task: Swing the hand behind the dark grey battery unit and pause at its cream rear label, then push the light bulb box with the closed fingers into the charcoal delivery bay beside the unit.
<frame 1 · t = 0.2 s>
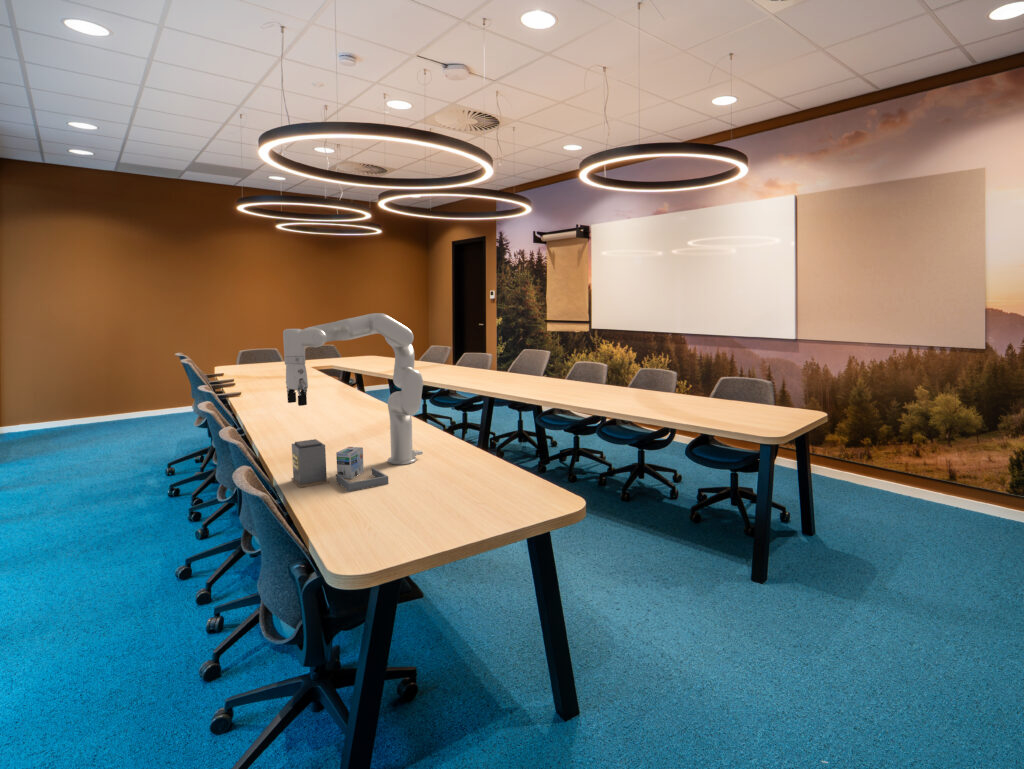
hand: (297, 403, 212), 31 cm above the table, tool pointing down, fingers open, 9 cm apart
bay: (361, 482, 212), on the table
battery unit: (310, 481, 213), on the table
light bulb box: (350, 475, 221), on the table
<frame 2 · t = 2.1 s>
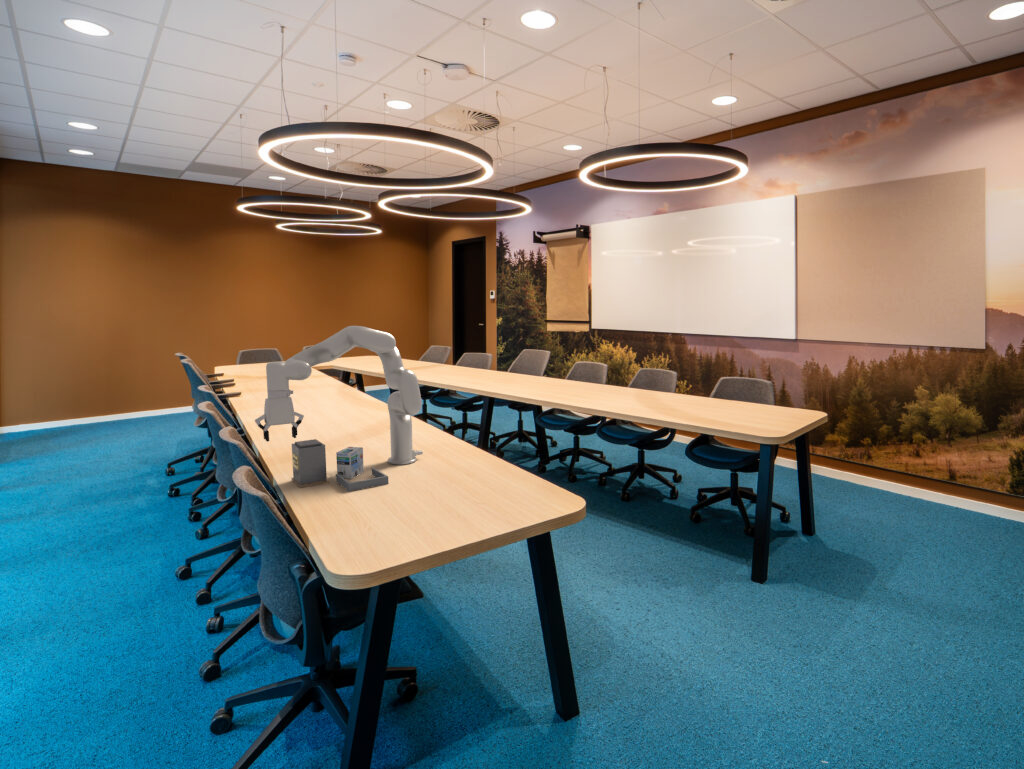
hand: (280, 439, 204), 19 cm above the table, tool pointing down, fingers open, 9 cm apart
nothing on the table moved.
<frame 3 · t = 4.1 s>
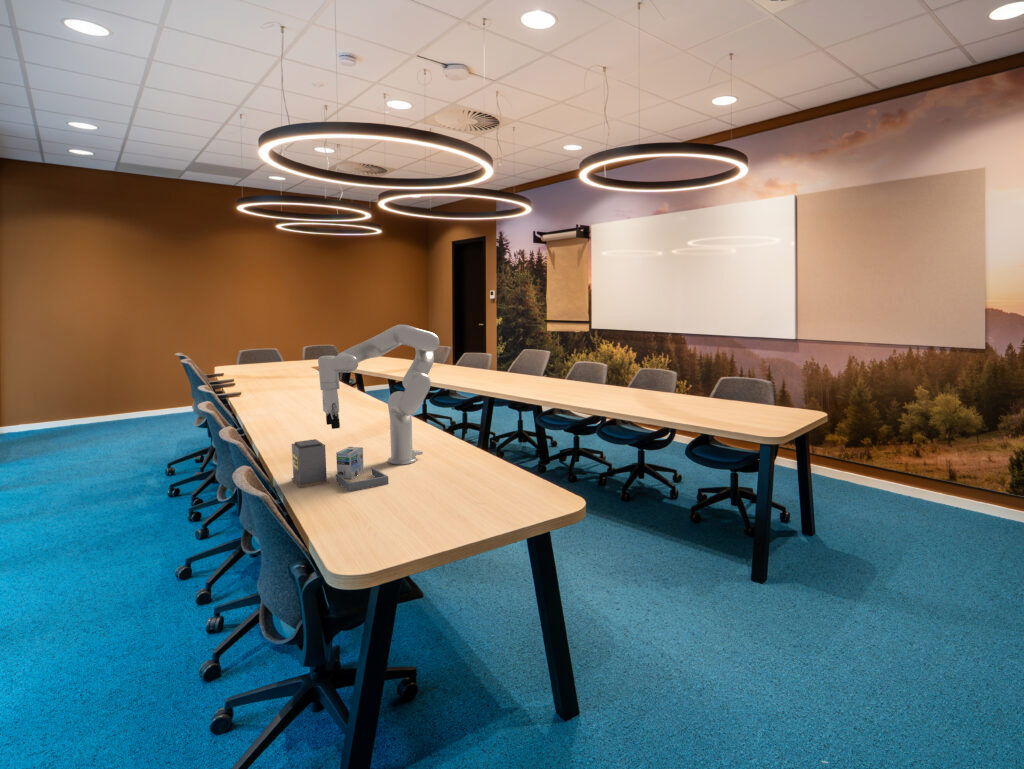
hand: (333, 426, 224), 19 cm above the table, tool pointing down, fingers open, 9 cm apart
nothing on the table moved.
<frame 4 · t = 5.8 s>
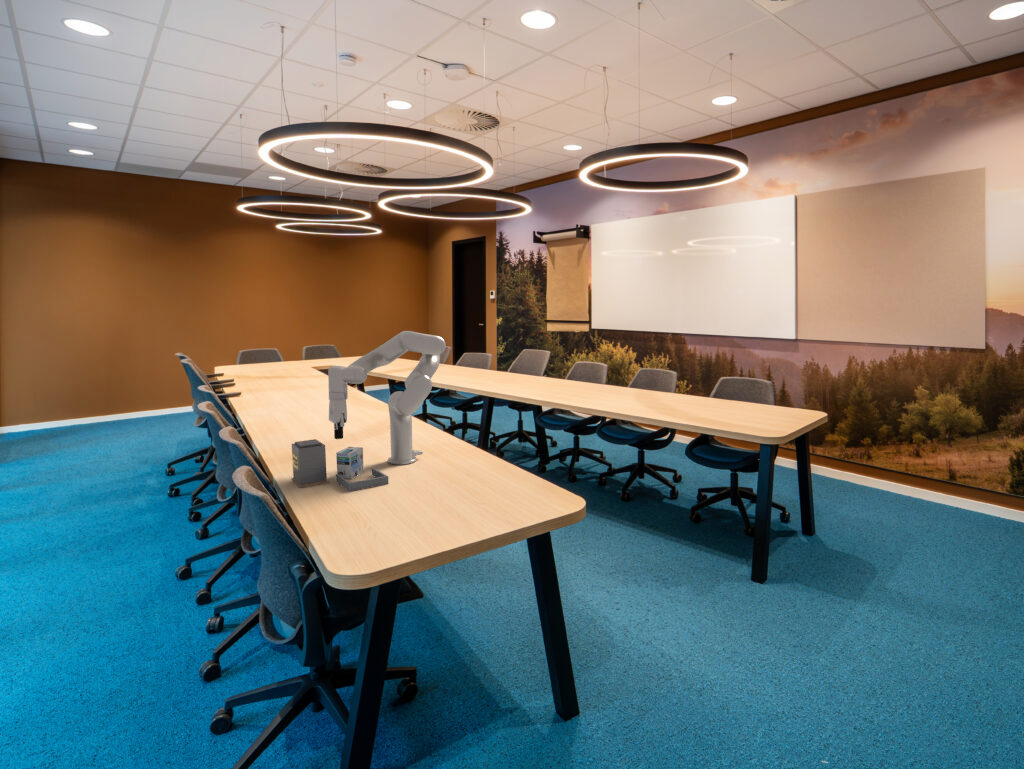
hand: (338, 438, 228), 13 cm above the table, tool pointing down, fingers closed
nothing on the table moved.
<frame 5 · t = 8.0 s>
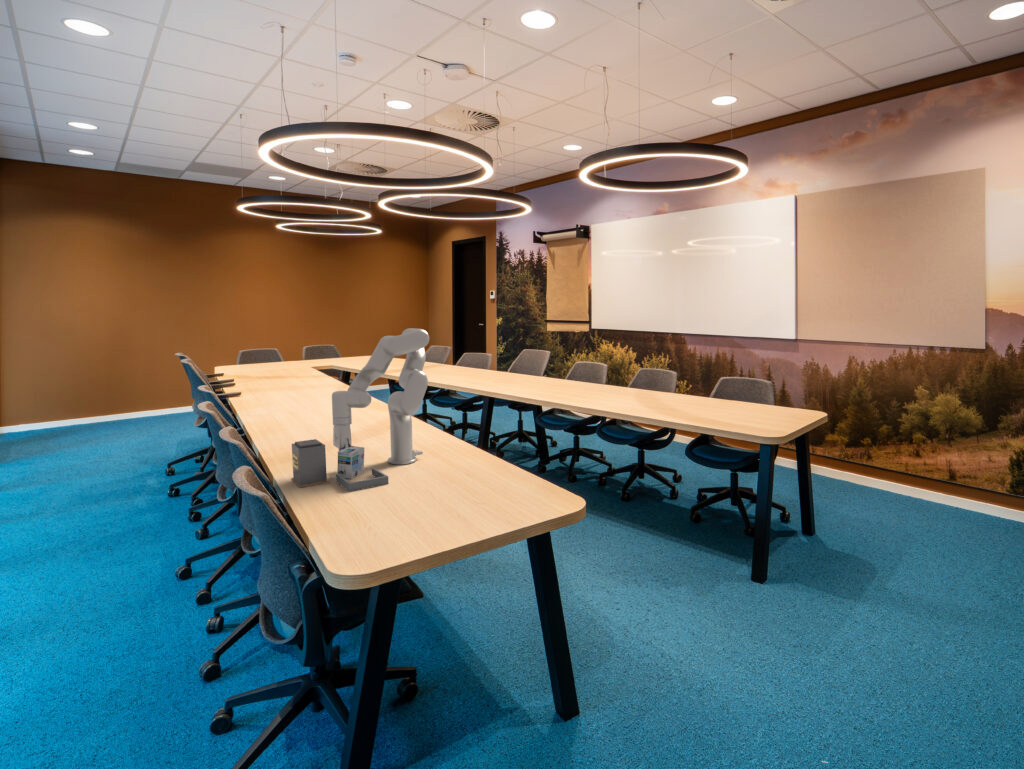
hand: (343, 463, 226), 3 cm above the table, tool pointing down, fingers closed
light bulb box: (350, 475, 221), on the table, touching gripper
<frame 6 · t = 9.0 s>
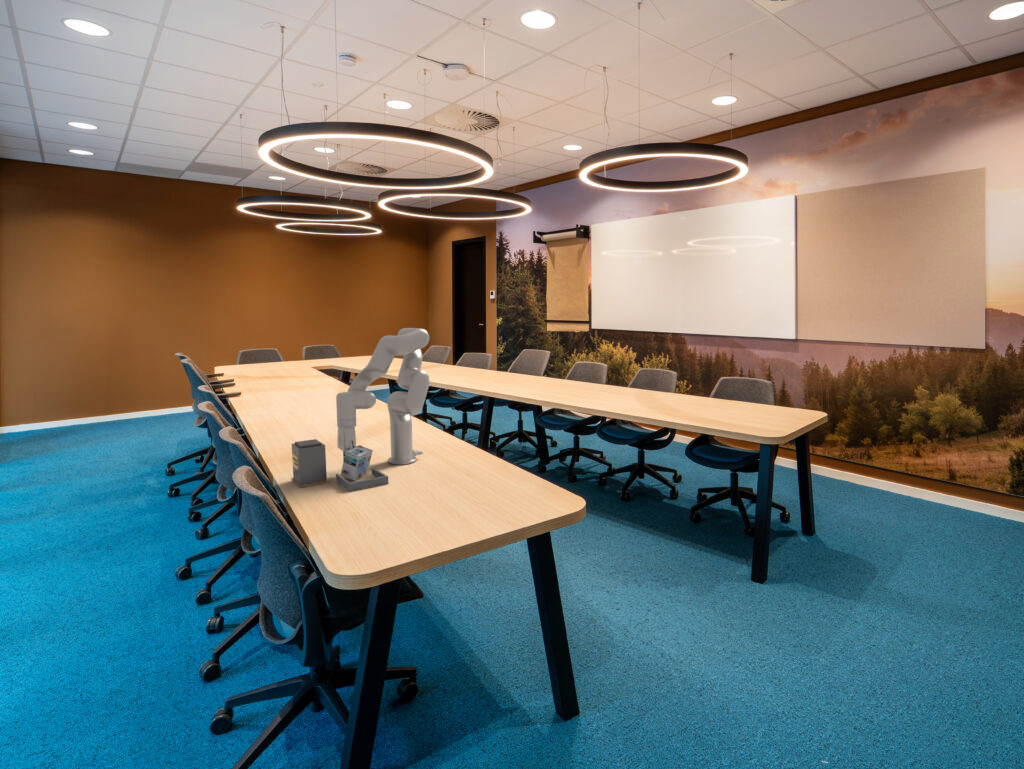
hand: (348, 466, 222), 3 cm above the table, tool pointing down, fingers closed
light bulb box: (353, 475, 219), point 1 cm above the table, touching gripper
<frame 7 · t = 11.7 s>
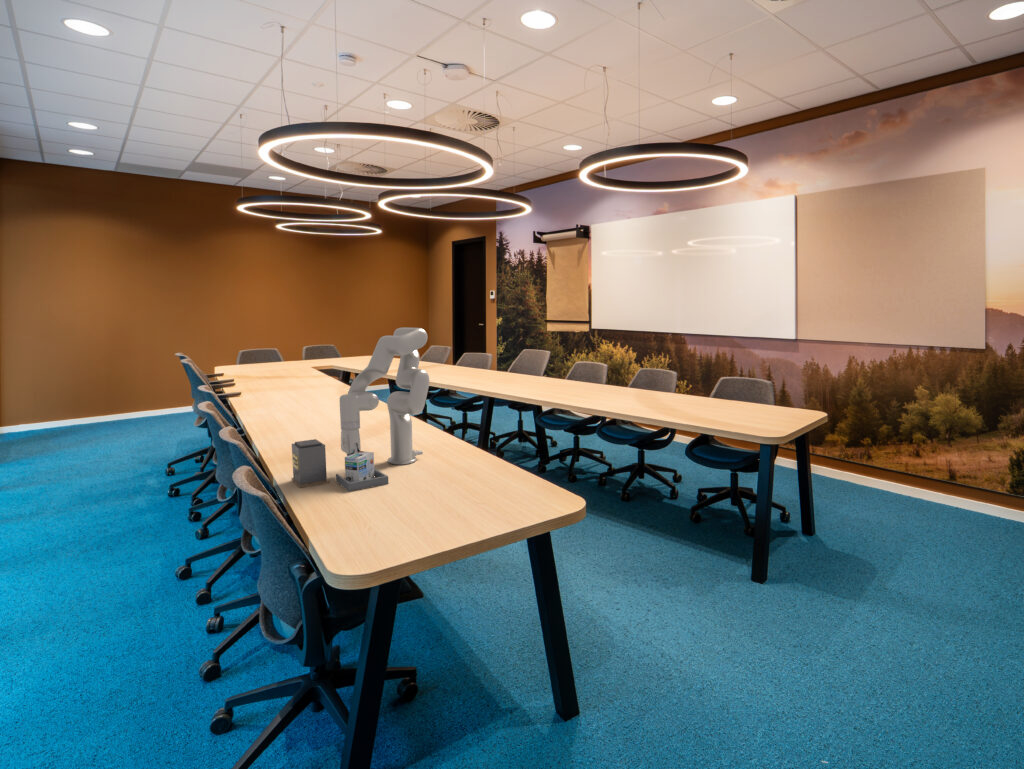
hand: (352, 468, 219), 3 cm above the table, tool pointing down, fingers closed
light bulb box: (360, 481, 214), resting in bay
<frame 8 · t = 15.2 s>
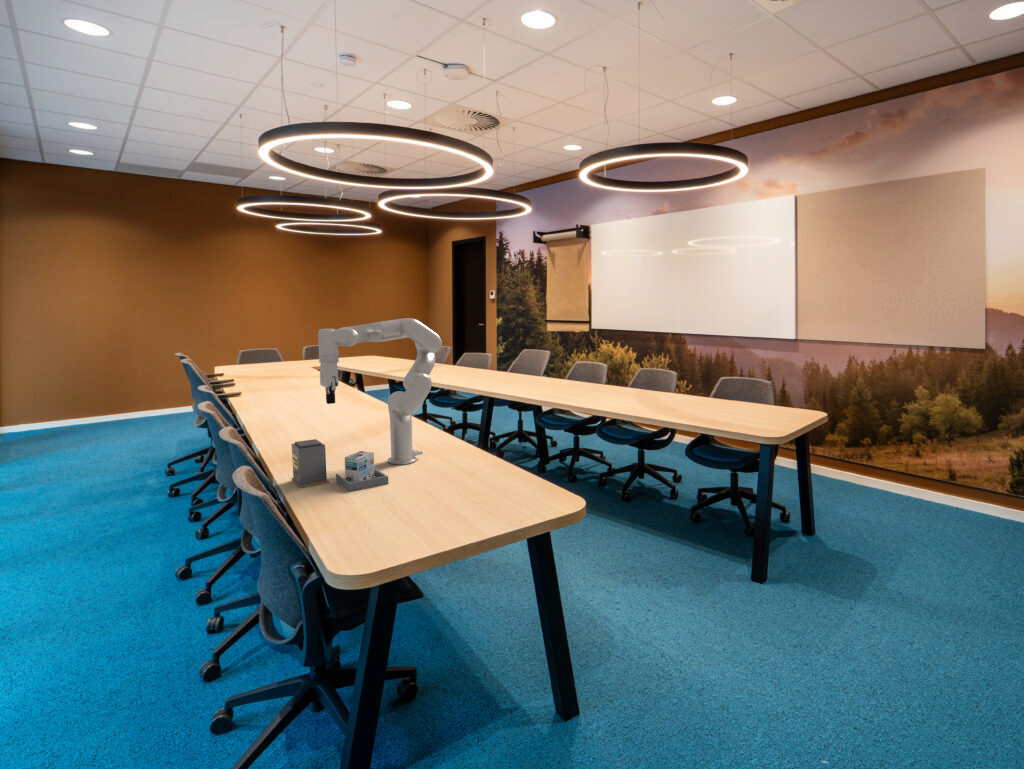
hand: (330, 403, 222), 29 cm above the table, tool pointing down, fingers closed
nothing on the table moved.
at the end: light bulb box inside the target area on the bay (2.3 cm from its centre), point 0.0 cm above the bay's base; light bulb box tilted 0°; light bulb box moved 9.7 cm from its start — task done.
